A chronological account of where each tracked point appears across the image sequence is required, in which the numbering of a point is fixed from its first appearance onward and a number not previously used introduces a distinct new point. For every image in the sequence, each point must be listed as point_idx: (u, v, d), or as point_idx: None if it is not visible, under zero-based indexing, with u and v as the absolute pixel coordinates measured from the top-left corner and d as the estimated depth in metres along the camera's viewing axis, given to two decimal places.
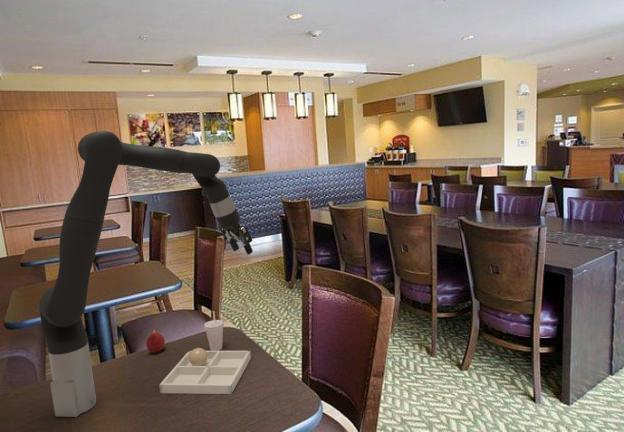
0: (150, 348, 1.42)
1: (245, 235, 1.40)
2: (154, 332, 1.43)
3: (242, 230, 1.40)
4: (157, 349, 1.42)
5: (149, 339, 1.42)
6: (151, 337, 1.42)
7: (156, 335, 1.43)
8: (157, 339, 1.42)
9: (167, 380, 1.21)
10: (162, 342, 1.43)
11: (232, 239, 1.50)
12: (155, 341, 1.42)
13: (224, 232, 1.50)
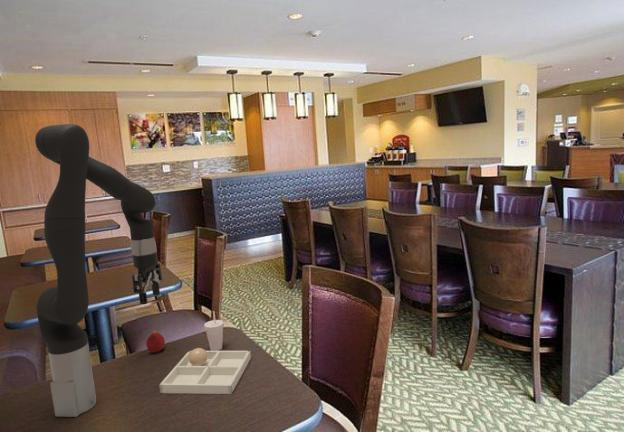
0: (150, 348, 1.42)
1: (135, 283, 1.34)
2: (154, 332, 1.43)
3: (134, 277, 1.34)
4: (157, 349, 1.42)
5: (149, 339, 1.42)
6: (151, 337, 1.42)
7: (156, 335, 1.43)
8: (157, 339, 1.42)
9: (167, 380, 1.21)
10: (162, 342, 1.43)
11: (155, 282, 1.45)
12: (155, 341, 1.42)
13: None
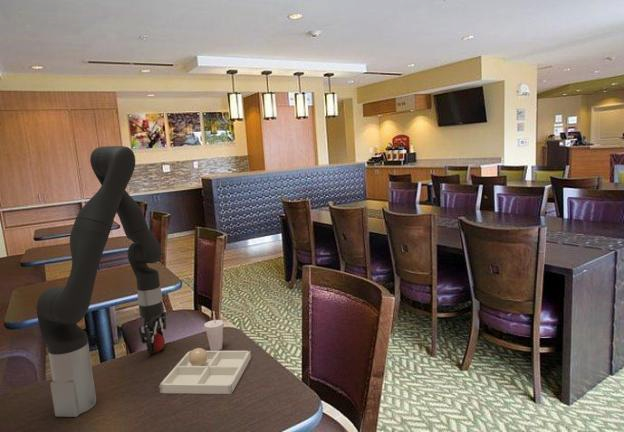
0: None
1: (142, 335, 1.37)
2: None
3: (141, 330, 1.37)
4: (157, 349, 1.42)
5: None
6: None
7: (156, 335, 1.43)
8: (157, 339, 1.42)
9: (167, 380, 1.21)
10: (162, 342, 1.43)
11: (159, 332, 1.47)
12: (155, 341, 1.42)
13: None
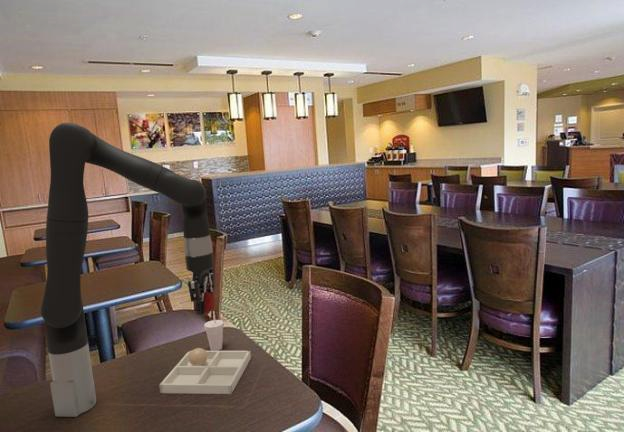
0: None
1: (192, 291, 1.14)
2: None
3: (190, 285, 1.13)
4: (207, 310, 1.19)
5: None
6: None
7: (206, 293, 1.20)
8: (207, 298, 1.19)
9: (167, 380, 1.21)
10: (213, 302, 1.20)
11: (207, 291, 1.24)
12: (205, 299, 1.19)
13: None
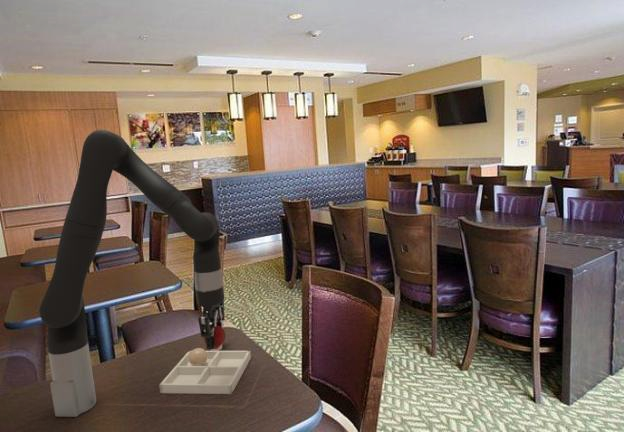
0: None
1: (202, 327, 1.12)
2: None
3: (200, 320, 1.12)
4: (218, 344, 1.18)
5: None
6: None
7: (216, 327, 1.18)
8: (217, 332, 1.17)
9: (167, 380, 1.21)
10: (223, 336, 1.19)
11: (218, 323, 1.22)
12: (215, 334, 1.17)
13: None
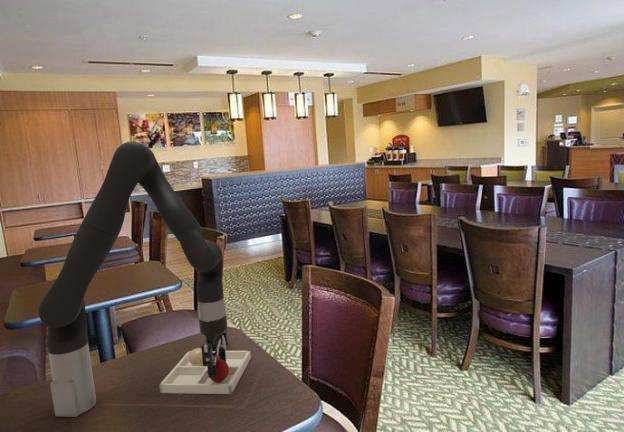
0: (213, 378, 1.18)
1: (205, 355, 1.13)
2: (217, 358, 1.20)
3: (203, 348, 1.13)
4: (221, 379, 1.19)
5: None
6: None
7: (220, 362, 1.20)
8: (221, 367, 1.19)
9: (167, 380, 1.21)
10: (227, 370, 1.20)
11: (221, 348, 1.24)
12: (219, 369, 1.19)
13: None
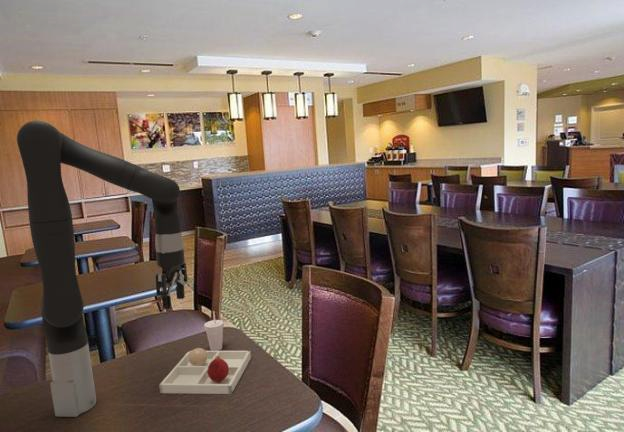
0: (213, 377, 1.19)
1: (158, 284, 1.16)
2: (217, 358, 1.20)
3: (157, 277, 1.16)
4: (221, 378, 1.19)
5: (212, 366, 1.19)
6: (214, 364, 1.19)
7: (220, 361, 1.20)
8: (221, 367, 1.19)
9: (167, 380, 1.21)
10: (226, 370, 1.20)
11: (180, 284, 1.27)
12: (219, 368, 1.19)
13: None
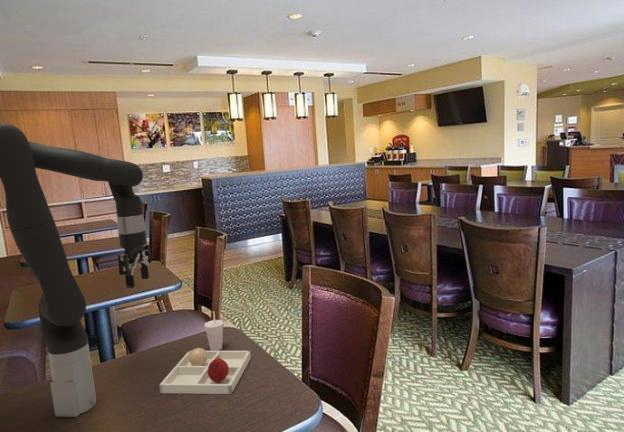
0: (213, 377, 1.19)
1: (121, 264, 1.22)
2: (217, 358, 1.20)
3: (119, 257, 1.21)
4: (221, 378, 1.19)
5: (211, 366, 1.19)
6: (214, 364, 1.19)
7: (219, 362, 1.20)
8: (221, 367, 1.19)
9: (167, 380, 1.21)
10: (226, 370, 1.20)
11: (144, 265, 1.33)
12: (219, 368, 1.19)
13: None
